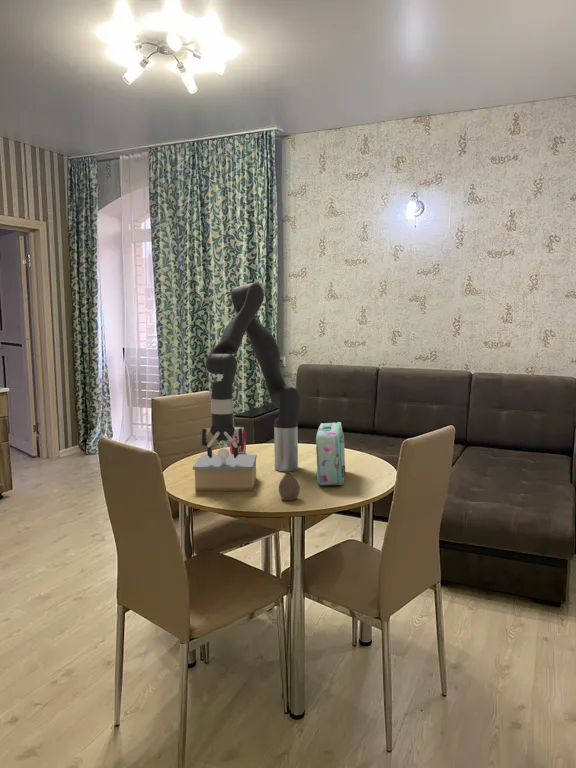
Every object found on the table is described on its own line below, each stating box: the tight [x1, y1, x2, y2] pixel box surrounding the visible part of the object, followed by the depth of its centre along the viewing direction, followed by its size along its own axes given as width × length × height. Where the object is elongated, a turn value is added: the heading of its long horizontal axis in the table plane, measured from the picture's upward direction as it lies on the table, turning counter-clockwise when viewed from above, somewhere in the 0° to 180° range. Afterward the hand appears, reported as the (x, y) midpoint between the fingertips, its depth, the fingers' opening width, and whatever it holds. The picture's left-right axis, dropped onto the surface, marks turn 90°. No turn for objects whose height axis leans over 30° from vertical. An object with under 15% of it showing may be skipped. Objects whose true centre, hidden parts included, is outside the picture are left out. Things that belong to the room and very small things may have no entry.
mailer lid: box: [192, 447, 258, 471], centre depth 202 cm, size 21×18×7 cm
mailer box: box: [194, 460, 257, 492], centre depth 204 cm, size 20×16×8 cm
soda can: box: [229, 426, 247, 455], centre depth 248 cm, size 7×7×12 cm
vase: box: [278, 472, 300, 502], centre depth 186 cm, size 7×7×9 cm
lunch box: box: [315, 421, 346, 486], centre depth 208 cm, size 27×10×21 cm, turn 175°
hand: (222, 457), depth 196 cm, fingers open, 8 cm apart
